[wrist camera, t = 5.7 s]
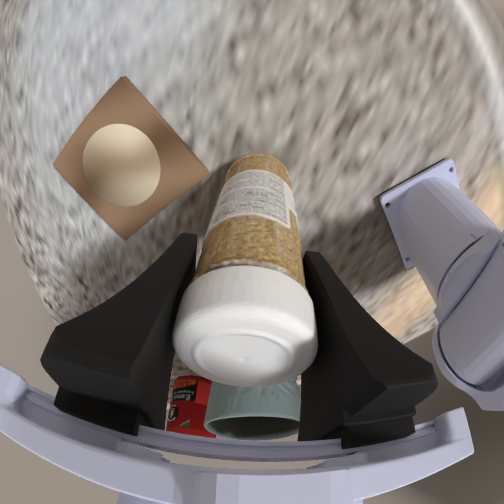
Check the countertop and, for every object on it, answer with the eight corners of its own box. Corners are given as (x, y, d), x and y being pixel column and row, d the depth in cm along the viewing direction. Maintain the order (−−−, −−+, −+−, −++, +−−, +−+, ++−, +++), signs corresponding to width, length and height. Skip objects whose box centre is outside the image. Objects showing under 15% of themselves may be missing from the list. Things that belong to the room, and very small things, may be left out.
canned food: (191, 370, 39) (182, 436, 30) (229, 387, 42) (225, 447, 34) (166, 381, 42) (155, 438, 34) (201, 396, 46) (195, 450, 37)
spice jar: (280, 216, 20) (288, 397, 9) (219, 202, 20) (168, 377, 9) (299, 159, 17) (347, 330, 7) (232, 142, 17) (168, 296, 6)
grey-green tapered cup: (204, 346, 34) (193, 432, 25) (232, 300, 29) (222, 410, 19) (273, 363, 37) (275, 443, 27) (313, 324, 31) (326, 421, 21)
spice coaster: (209, 171, 20) (207, 176, 19) (128, 235, 24) (125, 241, 23) (125, 76, 15) (120, 77, 14) (57, 160, 19) (51, 164, 18)
